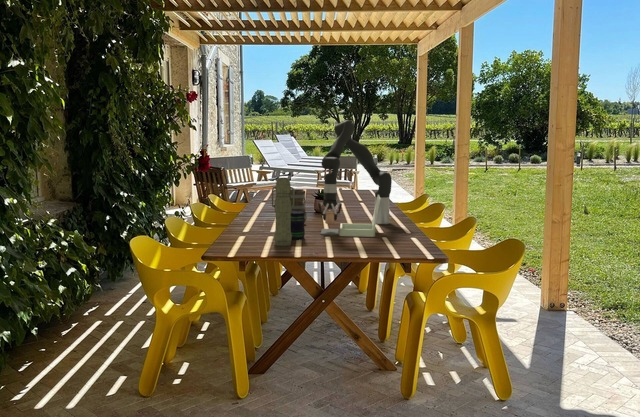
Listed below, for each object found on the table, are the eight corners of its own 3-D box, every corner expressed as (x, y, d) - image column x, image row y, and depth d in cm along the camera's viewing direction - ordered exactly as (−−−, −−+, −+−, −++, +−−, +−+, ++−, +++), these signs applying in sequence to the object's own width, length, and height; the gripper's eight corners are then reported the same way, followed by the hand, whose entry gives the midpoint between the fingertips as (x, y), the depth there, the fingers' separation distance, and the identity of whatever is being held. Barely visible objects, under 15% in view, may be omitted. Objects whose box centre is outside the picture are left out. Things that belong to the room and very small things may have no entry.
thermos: (295, 246, 299) (295, 178, 294) (272, 246, 297) (272, 178, 292) (293, 242, 307) (294, 177, 302) (271, 243, 306) (271, 177, 301)
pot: (334, 222, 341) (335, 210, 340) (334, 224, 335) (334, 212, 334) (325, 222, 341) (325, 210, 340) (324, 223, 335) (324, 211, 334)
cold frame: (378, 230, 347) (379, 194, 344) (379, 236, 327) (380, 198, 324) (340, 229, 348) (341, 193, 345) (339, 235, 328) (340, 197, 325)
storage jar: (300, 241, 312) (300, 213, 310) (284, 239, 316) (284, 212, 314) (307, 237, 322) (307, 211, 320) (291, 236, 325) (291, 210, 323)
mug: (304, 212, 416) (305, 191, 414) (286, 212, 417) (286, 191, 414) (306, 208, 436) (306, 188, 434) (288, 208, 436) (288, 188, 434)
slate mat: (338, 230, 346) (338, 229, 346) (338, 235, 330) (338, 233, 330) (322, 229, 347) (322, 228, 347) (320, 234, 331) (320, 233, 331)
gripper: (342, 191, 339) (342, 219, 341) (318, 190, 339) (317, 219, 342) (342, 192, 331) (341, 221, 334) (317, 192, 332) (317, 221, 334)
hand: (329, 220), depth 338 cm, fingers closed on pot, 5 cm apart
